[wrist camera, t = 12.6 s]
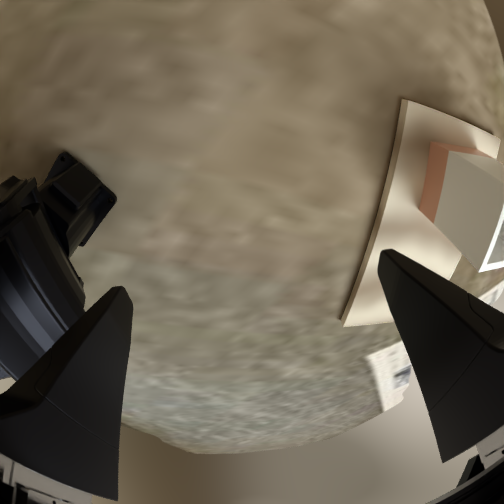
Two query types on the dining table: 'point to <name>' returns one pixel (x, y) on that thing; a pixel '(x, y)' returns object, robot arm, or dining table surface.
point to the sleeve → (466, 202)
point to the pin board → (410, 208)
